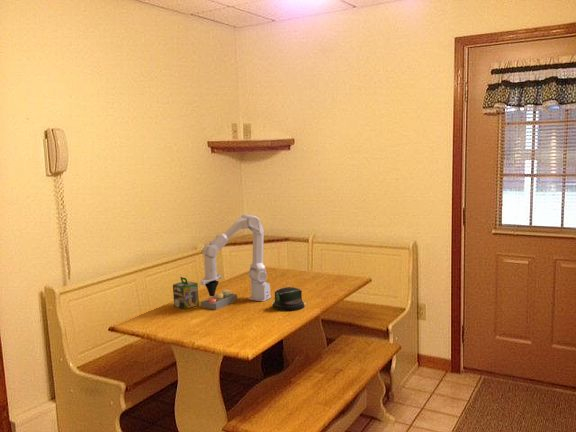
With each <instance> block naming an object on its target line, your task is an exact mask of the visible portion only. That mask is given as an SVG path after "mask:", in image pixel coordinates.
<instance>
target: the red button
mask: <svg viewBox="0 0 576 432" xmlns="http://www.w3.org/2000/svg"><path fill="white" fill-rule="evenodd" d="M210 298H211V297H210ZM207 299H208V298H207ZM208 302H209V303H215V302H216V299H214V298H211V299H208Z"/></svg>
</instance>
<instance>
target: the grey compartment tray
mask: <svg viewBox="0 0 576 432" xmlns="http://www.w3.org/2000/svg"><path fill="white" fill-rule="evenodd" d="M211 298H214V299H215V296H210V297H208V298H206V299H205V300H204V299H203V300H202V301H200V306H201V308H202V309H208V310H214V311H217V310H220V309H221V308H223V307H225V306H227V305H230V304H232V303H234V302H237V301H238V294H236V293H230V296H228V297H226V296H223V299H221V300H218V299H216V302H215V303H209V302H208V299H211Z"/></svg>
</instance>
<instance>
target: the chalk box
mask: <svg viewBox="0 0 576 432" xmlns="http://www.w3.org/2000/svg"><path fill="white" fill-rule="evenodd" d="M179 278H180V281H181V282H176V283H174V284H172V291H173V295H172V296H173V304H174V305H173V307H175V308H179V309H182V310H187V309H191V308H193V307H194V308H195V307H197V306H200V299H199V286H198V285H199V284H198V282H194V281H189V280H188V279H187V278H186V277H182V276H180V277H179Z"/></svg>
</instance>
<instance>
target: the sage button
mask: <svg viewBox="0 0 576 432" xmlns="http://www.w3.org/2000/svg"><path fill="white" fill-rule="evenodd" d="M221 293H223V296H226V297H228V296H230V294H231V290H229V289H225V290H222V292H221Z"/></svg>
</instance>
